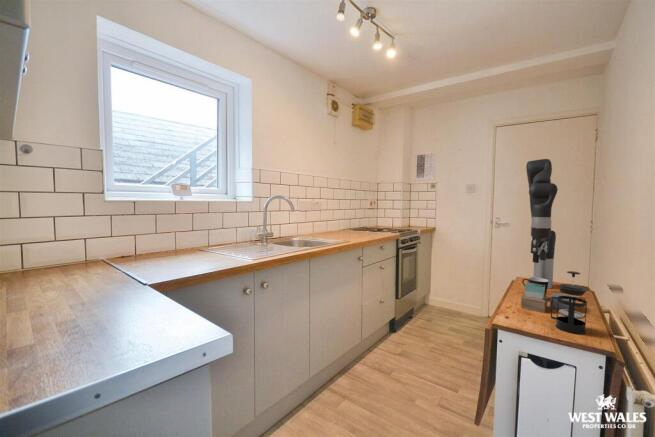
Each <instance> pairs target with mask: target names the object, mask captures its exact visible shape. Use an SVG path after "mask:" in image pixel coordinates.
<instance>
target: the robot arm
mask: <svg viewBox="0 0 655 437" xmlns="http://www.w3.org/2000/svg"><path fill="white" fill-rule="evenodd" d="M525 168H526V169H525V170H526V176H527V181H528V188H529V190H528V194H529V204H530V206H529V207H530V208H529V209H530V214H531V224H530V225H531V226H530V237H531V239H532V240H531V243H530V253H531V254H532V263H533V277H537V278H543V279H547V280H549V282H548V287H547V290H549V289H550V290H551V289H553V285H554V284H553V283H554V267H555V266H554V261H555V260H554V259H555V248H556V241H557V240H556V238H557V233H556V231H554V230H552V210H553V209H552V208H553V205H554V201H555V198H556V196H557V193H558V186H557V185H556V184H555V183H553V182H552V180H551V178H552V172H553V166H552V161H551V160H550V159H549V158H542V159H536V160H529V161H527V162H526V167H525Z"/></svg>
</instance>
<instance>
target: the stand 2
mask: <svg viewBox="0 0 655 437" xmlns="http://www.w3.org/2000/svg"><path fill="white" fill-rule="evenodd" d="M552 296H554V297H558V296H571V297H572V295H569V294H564V293H556V292H552V293H551V295H550V298H549V299H550V300H549V308H550V309H551V301H552ZM573 297H576V296H575V295H573ZM561 300H564V301H568V302H569V299H561ZM557 302H558V299H555V298H553V307H552V309H554V310H555V309H556V310H557ZM575 303H577V301H575ZM561 309H566V310H569V305H566V304H563V303H560V302H558V310H561ZM574 311H576V306H575V310H574Z"/></svg>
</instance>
